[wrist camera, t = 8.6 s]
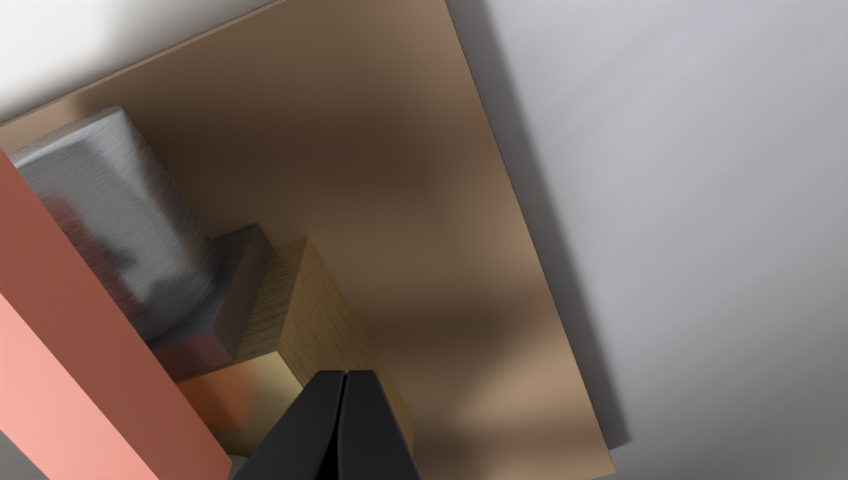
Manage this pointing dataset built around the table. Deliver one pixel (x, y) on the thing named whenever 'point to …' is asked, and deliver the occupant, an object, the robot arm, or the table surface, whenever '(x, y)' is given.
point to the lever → (84, 365)
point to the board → (374, 211)
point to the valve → (199, 282)
